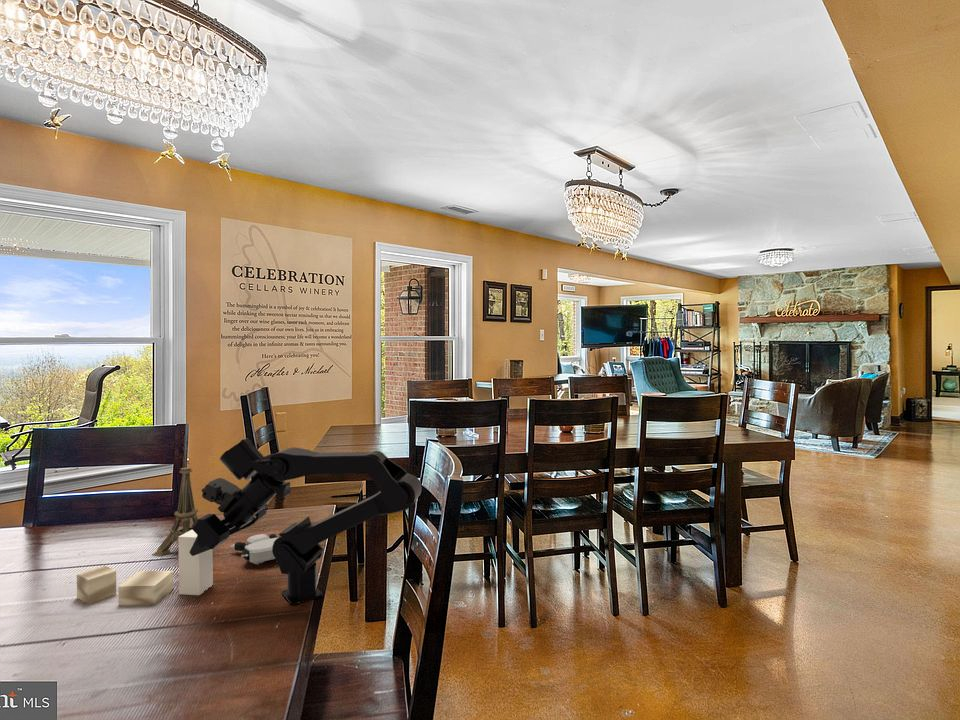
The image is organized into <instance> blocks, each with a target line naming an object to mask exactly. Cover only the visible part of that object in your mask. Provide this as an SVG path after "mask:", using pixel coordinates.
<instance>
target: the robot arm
mask: <svg viewBox="0 0 960 720" xmlns="http://www.w3.org/2000/svg"><path fill="white" fill-rule="evenodd" d="M219 461H220V462H221V463H222V464H223V465H224V467H226V468H227V469H228V470H229V471H230V473H231V475H233V476H234V477H235V478H236V479H237V480H238V481H241V480H242V479H244V480H245V481H248V480H250V481H249V482H247V483H246V484H245V486H244V487H243V488H240V487H239V486H237V484H235V483H232V482H230V481H229V480H227V479H225V478H222V477H219V478H215V479H213V480H210V481H208V483H207V484H205V487H203V488H201V497H202V498H203V499H204V500H206V501H208V502H210V503H215V504H217V505H219V506H218V507H217V510H218V511H219V512H220V513H223V517H224V518H223V519H222V520H221V519H220V518H219V517H218V516H217V514H215V513H207V514H205V515H204V516H201V517H199V518H198V520H197V521H196V522H195V523H194V524H193V523H192V524H191V525H192V530H193V531H194V532H195V533H196V534H197V537H196V540H195V542H194V544H193V546H192V548H191V550H190V552H189V553H190V554H191V555H192V556H195V555H197V554H200V553H202V552H205V551H208V550H210V549H212V550H214V549H215V548H217V547H219V546H222V544H223V543H225V542H226V540H228V538H230V536H232V535H234V534H236V533H237V532H240V531H242V530H245V529H247V528H249V527H251V526H253V525H254V524H256V523H257V522H258V521H260V520H262V519H263V517H265V516H266V515H267V506H268V505H267V504H268V503H269V502H270V501H271V500H272V499H273V498H274V497H275V496H278V497H279V498H280V499H284V498H285V497H288V496H289V495H290V494H291V493H292V489H291V482H290V481H291V480H294V479H298V478H302V477H306V476H311V475H318V474H319V475H321V474H322V475H323V474H324V475H325V474H326V475H327V474H367V475H368V476H369V477H370V479H372V482H373V483H374V484H375V486H376V488H377V489H378V492H377V493H375V494H374V495H372V496H369V497H367V498H365V499H363V500H361V501H359V502H356V503H355V504H353V505H351V506H348V507H346V508H344V509H342V510H340V511H338V512H336V513H333V514H332V515H330V516H327V517H325V518H323V519H321V520H318V521H311V518H310V516H307V517H306V518H304V519H303V520H301V521H298V522H293V523H292V524H290V525H288V527H286V528H285V529H283V530H282V531H280V533H278V537H279V538H278V537H277V539H276V540H275V541H274V543H273V547H272V552H273V555H274V557H275V558H276V559H275V560H276V561H277V564H278V567H279V570H280V573H281V574H282V575H286V581H287V583H286V588H287V589H285V590H282V591H281V593H282V594H283V595H284V596H285V597H286V599H287V600H288V601H289V602H290V603H291V604H295V603H298V602H302V601H305V602H307V601H306V600H308V601H311V600H315V599H318V598H321V597H323V596H324V595H323V594H324V593H323V592H322V591H321V590H320V589H319V588H318V587H317V562H318V560H320V559H321V558H322V556H323V553H324V548H323V547H322V546H321V545H320V543H322V542H324V541H325V540H329V539H330V538H333V537H334V536H337V535H339V534H342V533H343V532H346V531H348V530H349V529H353V528H354V527H356V526H358V525H360V524H362V523H366V521H368V520H371V519H372V518H375V517H377V516H381V515H391V514H396V513H400V512H403V511H407V510H408V509H409V508H411V507H412V505H413V504H414V503H415V502H416V501H417V499H418V498H419V496H421V493H422V487H423V486H422V483H421V481H420V479H419V478H418V477H417V476H415V475H413V474H411V473H408V472H407V471H406V470H405V469H404V468H403V467H402V466H401V465H399V464H397V463H396V462H394V461H392V460H391V459H390V458H389V457H388V456H387V455H386V454H385V453H383V452H382V451H380V450H373V451H361V452H360V451H356V452H355V451H353V452H351V451H350V452H317V451H316V452H315V451H312V450H310V449H306V448H300V447H295V446H294V447H289V448H286V449H283V450H281V451H278V452H276V453H269V454H268V455H265V456H264V455H263V454H262V453H261V452H260V451H259V450H258V449H257V447H256V446H255V445H254V444H253V442H252V441H251V440H250V439H249V437H246V438H243V439H241V440H240V441H239V442H238V443H236V444H235V445H233V446H232V447H231V448H230V449H228V450H225V451H224V452H223V453H222V454H221V455H220V458H219ZM253 476H254V477H253ZM252 477H253V478H252ZM289 480H290V481H289ZM282 594H281V595H282ZM283 595H282V596H283ZM284 596H283V597H284ZM286 599H285V600H286ZM310 599H311V600H310ZM287 600H286V601H287ZM288 601H287V602H288ZM289 602H288V603H289ZM290 603H289V604H290ZM302 603H303V602H302ZM291 604H290V605H291ZM298 604H299V603H298ZM295 605H296V604H295Z"/></svg>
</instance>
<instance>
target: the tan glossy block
mask: <svg viewBox="0 0 960 720" xmlns="http://www.w3.org/2000/svg"><path fill="white" fill-rule="evenodd" d="M117 587H118V588H117V589H118V592H117V593H118V594H117V595H118V596H117V597H118V599H117V600H118V606H135V605H136V606H139V605H140V606H142V605H156V604H157V603H159V601H161V600H162V599H163V598H164V597H165V596H166V595H167V594H169V592H171V591H172V590H173V589H174V570H148V571H147V570H144V571H143V570H142V571H137V572H136V573H135V574H133V575H132V576H130V577H129V578H128V579H126V580H125V581H124V582H123V583H121V584H120V585H118V586H117Z"/></svg>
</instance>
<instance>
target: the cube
mask: <svg viewBox="0 0 960 720" xmlns="http://www.w3.org/2000/svg"><path fill="white" fill-rule="evenodd" d="M115 595H117V570H115V569H113V568H111V567H108V566H107V565H102V566H99V567H95V568H91V569H89V570H85V571H83V572H79V573H76V599H78V600H79V599H80V600H79V601H81V600H82V602H83V601H84V602H83V603H85V604H87V605H90V604H94V603H97V602H99V601H101V600H104V599H107V598H110V597H113V596H115Z"/></svg>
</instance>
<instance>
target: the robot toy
mask: <svg viewBox="0 0 960 720" xmlns="http://www.w3.org/2000/svg"><path fill="white" fill-rule="evenodd" d="M279 537H280V536H278V535H277V534H276V533H271V534H270V535H269V536H268V535H267V534H266V533H261V534H255V535H252V536H249V537H248V538H247V539H246V542H242V541H237V542H236V543H234V544H231V545H230V548H231V549H234V551H238V552H242V553H241V555H240V558H243V559H244V560H246V561H247V562H249V563H252V564H254V565H260V564H259V563H261V564H263V563H265V562H266V561H272V560H276V558H275V557H274V555H273V552H272V547H273V543H274V541H275V540H276V539H277V538H279ZM262 562H263V563H262Z"/></svg>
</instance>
